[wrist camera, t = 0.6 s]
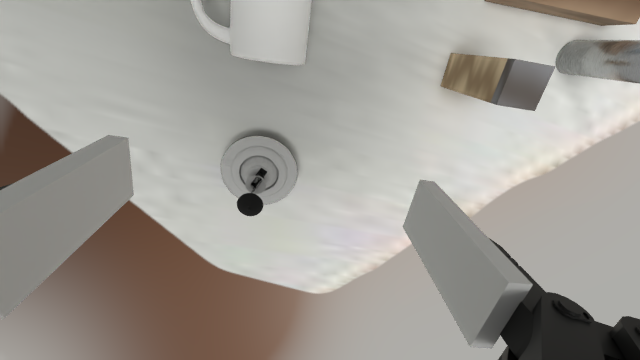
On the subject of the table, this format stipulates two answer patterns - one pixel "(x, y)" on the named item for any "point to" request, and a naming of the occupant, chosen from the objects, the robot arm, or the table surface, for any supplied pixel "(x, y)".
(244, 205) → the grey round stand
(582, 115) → the table surface
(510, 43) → the table surface
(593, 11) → the bore block
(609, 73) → the round bit
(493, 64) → the square bit
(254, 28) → the mug
